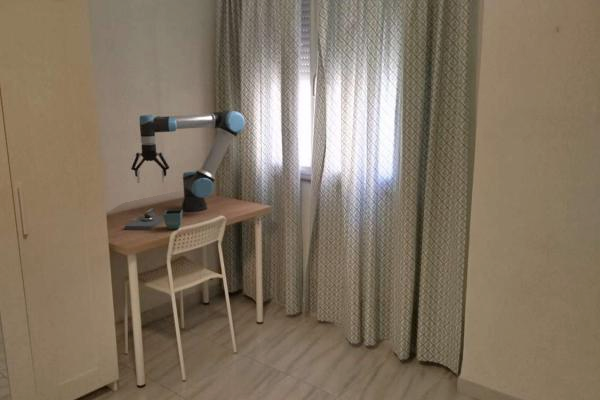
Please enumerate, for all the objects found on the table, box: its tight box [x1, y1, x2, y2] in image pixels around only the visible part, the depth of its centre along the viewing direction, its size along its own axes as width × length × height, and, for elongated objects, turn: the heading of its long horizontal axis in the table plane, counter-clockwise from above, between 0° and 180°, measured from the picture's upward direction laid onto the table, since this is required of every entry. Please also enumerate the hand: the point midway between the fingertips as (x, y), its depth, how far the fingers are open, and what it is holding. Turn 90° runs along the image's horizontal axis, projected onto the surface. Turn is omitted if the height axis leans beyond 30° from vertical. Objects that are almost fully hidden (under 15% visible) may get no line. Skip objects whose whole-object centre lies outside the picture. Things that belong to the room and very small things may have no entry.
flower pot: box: [163, 209, 183, 230], centre depth 267 cm, size 9×9×9 cm
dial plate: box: [124, 215, 164, 231], centre depth 274 cm, size 14×20×2 cm
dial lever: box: [142, 208, 155, 221], centre depth 278 cm, size 12×6×4 cm, turn 177°
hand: (151, 182), depth 279 cm, fingers open, 13 cm apart
